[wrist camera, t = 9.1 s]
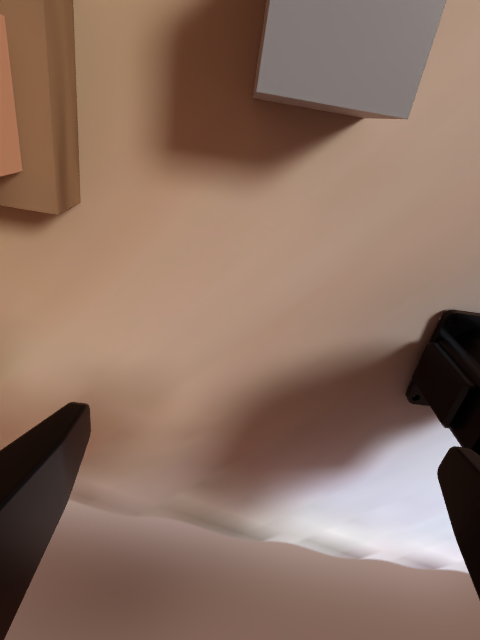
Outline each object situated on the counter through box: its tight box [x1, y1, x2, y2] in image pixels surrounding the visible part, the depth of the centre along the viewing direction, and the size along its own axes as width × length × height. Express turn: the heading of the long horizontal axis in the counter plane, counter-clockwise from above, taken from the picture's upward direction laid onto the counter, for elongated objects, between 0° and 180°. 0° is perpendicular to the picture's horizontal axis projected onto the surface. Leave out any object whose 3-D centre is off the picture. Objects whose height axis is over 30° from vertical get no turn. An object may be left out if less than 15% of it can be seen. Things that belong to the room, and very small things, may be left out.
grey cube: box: [252, 0, 446, 119], centre depth 13 cm, size 5×5×5 cm
